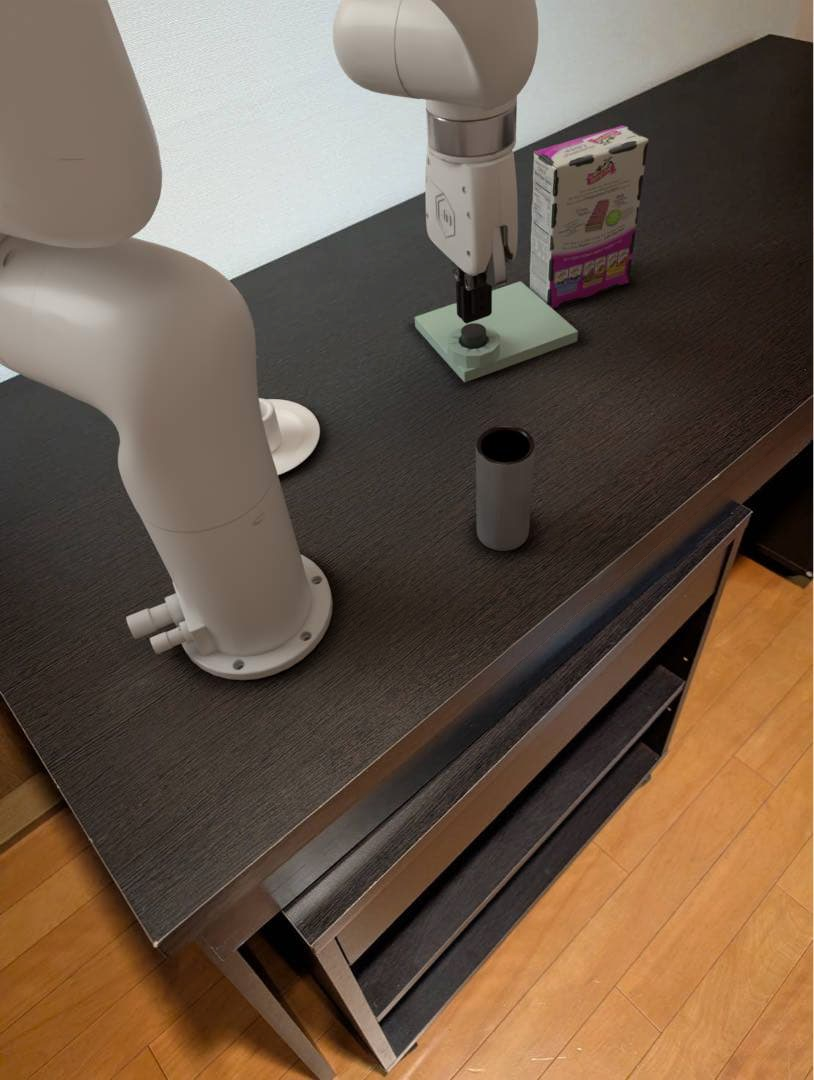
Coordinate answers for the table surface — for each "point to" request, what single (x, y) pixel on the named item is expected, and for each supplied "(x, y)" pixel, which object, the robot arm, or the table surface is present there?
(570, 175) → the candy bar box
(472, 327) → the button
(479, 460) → the planter
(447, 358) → the pale green base plate
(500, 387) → the table surface
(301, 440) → the candle holder
